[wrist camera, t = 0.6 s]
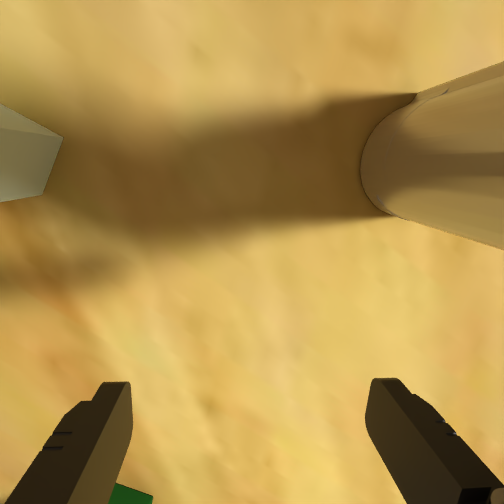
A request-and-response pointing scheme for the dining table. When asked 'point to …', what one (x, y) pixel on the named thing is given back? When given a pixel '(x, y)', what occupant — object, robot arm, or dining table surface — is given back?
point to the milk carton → (128, 496)
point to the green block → (24, 155)
